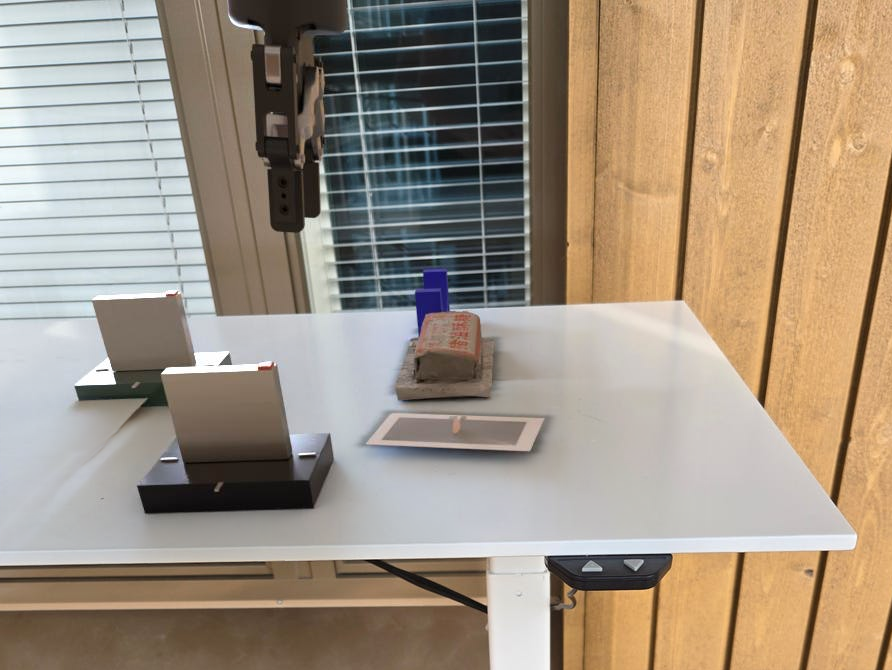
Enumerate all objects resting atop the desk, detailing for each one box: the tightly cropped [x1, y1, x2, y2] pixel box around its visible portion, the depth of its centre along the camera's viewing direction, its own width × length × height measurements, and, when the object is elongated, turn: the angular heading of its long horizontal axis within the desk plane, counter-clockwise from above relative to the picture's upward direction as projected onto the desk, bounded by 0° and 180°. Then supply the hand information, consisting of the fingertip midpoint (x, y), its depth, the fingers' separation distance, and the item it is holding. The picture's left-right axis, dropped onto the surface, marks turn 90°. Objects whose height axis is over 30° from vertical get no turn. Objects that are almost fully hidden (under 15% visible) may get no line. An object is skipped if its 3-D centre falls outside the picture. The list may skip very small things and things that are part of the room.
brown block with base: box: [394, 310, 495, 401], centre depth 97 cm, size 18×5×10 cm
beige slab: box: [91, 290, 197, 371], centre depth 95 cm, size 9×2×8 cm, turn 88°
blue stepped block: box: [414, 268, 457, 337], centre depth 111 cm, size 12×4×6 cm, turn 178°
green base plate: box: [73, 351, 233, 407], centre depth 97 cm, size 14×13×3 cm
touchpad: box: [365, 412, 545, 452], centre depth 81 cm, size 8×15×2 cm, turn 77°
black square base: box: [136, 432, 335, 514], centre depth 75 cm, size 14×13×3 cm
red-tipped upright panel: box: [161, 360, 292, 463], centre depth 72 cm, size 9×2×8 cm, turn 88°
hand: (297, 223), depth 63 cm, fingers open, 8 cm apart
